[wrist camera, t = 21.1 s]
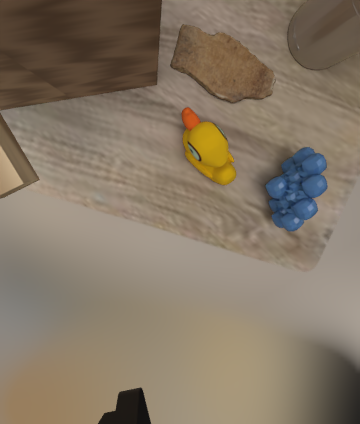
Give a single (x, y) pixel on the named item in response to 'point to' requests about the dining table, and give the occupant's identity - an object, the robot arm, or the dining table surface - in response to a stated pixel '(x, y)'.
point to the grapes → (297, 189)
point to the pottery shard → (221, 65)
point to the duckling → (207, 148)
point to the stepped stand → (76, 48)
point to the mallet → (13, 163)
